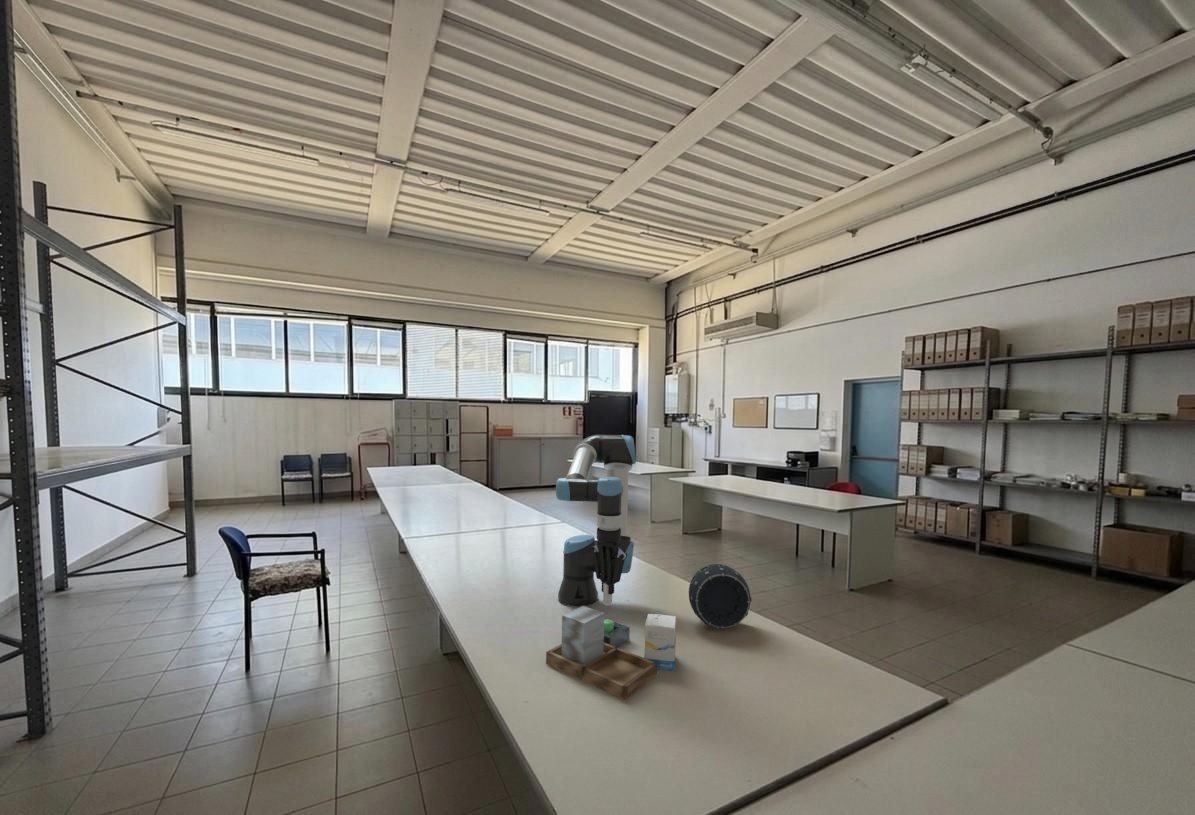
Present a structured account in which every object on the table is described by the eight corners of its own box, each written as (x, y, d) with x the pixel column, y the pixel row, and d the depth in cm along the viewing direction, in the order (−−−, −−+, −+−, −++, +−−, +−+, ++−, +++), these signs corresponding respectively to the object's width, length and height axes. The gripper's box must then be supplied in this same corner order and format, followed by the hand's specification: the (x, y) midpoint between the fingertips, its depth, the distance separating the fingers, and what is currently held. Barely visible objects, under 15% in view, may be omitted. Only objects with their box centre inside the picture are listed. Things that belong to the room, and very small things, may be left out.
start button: (597, 638, 144) (598, 622, 144) (605, 634, 147) (605, 618, 148) (608, 642, 142) (608, 626, 142) (615, 638, 145) (616, 621, 145)
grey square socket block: (584, 641, 144) (584, 628, 144) (603, 630, 152) (604, 618, 152) (610, 652, 138) (610, 638, 138) (629, 640, 145) (629, 627, 146)
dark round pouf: (753, 633, 151) (754, 571, 152) (691, 632, 152) (692, 569, 152) (744, 619, 162) (744, 561, 163) (686, 618, 163) (686, 560, 163)
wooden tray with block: (546, 662, 131) (547, 615, 131) (580, 643, 143) (581, 600, 143) (625, 700, 114) (626, 645, 114) (657, 674, 126) (658, 625, 126)
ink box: (674, 671, 128) (675, 627, 128) (643, 667, 129) (644, 624, 130) (675, 656, 136) (676, 615, 136) (646, 652, 138) (647, 612, 138)
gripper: (585, 526, 147) (583, 601, 147) (618, 533, 139) (617, 613, 138) (599, 522, 153) (598, 594, 152) (633, 528, 144) (631, 605, 144)
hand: (607, 603), depth 145 cm, fingers closed
